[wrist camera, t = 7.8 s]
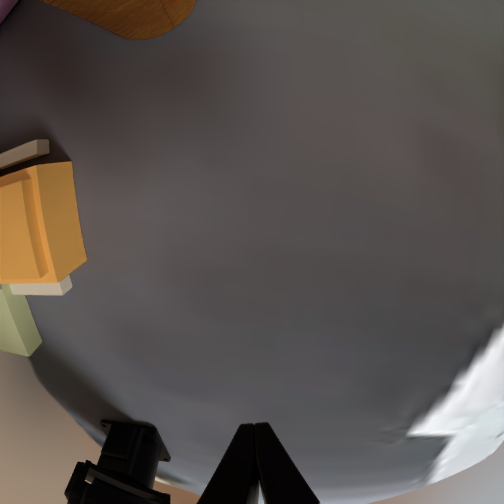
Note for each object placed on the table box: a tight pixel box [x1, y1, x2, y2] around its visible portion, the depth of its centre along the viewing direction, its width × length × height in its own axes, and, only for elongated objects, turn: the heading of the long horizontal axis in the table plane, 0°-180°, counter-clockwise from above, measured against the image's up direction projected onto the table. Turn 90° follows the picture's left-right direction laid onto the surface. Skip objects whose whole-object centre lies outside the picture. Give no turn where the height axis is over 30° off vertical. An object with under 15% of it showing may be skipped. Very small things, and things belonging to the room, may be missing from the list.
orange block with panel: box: [0, 161, 87, 284], centre depth 15 cm, size 7×8×5 cm
